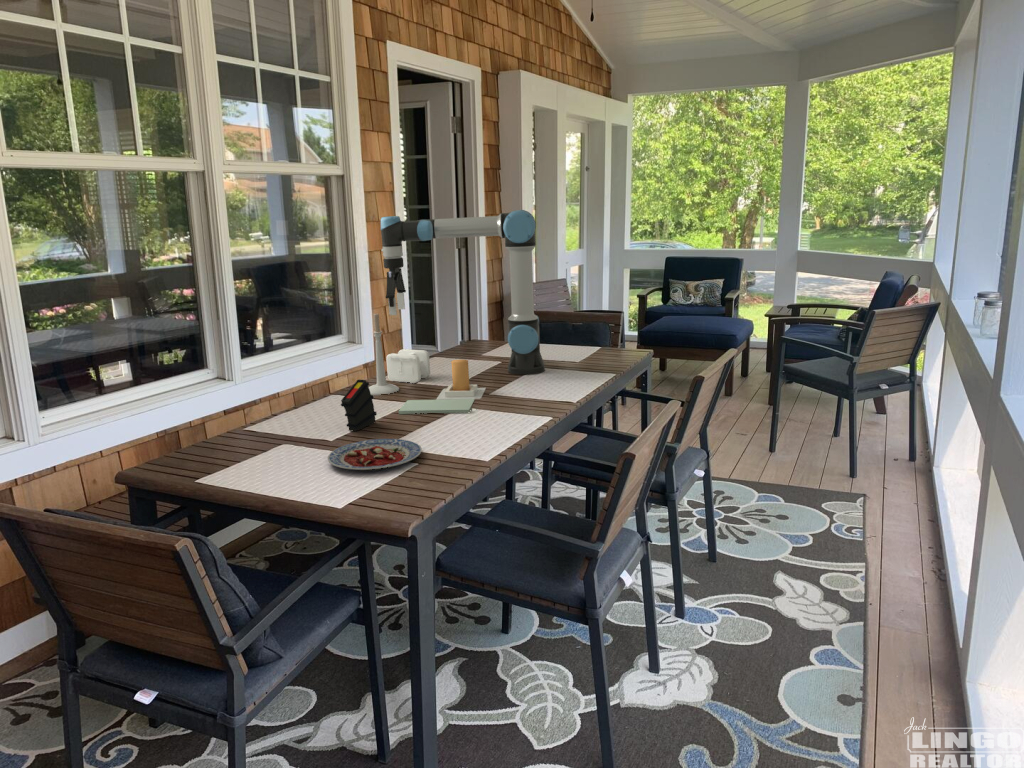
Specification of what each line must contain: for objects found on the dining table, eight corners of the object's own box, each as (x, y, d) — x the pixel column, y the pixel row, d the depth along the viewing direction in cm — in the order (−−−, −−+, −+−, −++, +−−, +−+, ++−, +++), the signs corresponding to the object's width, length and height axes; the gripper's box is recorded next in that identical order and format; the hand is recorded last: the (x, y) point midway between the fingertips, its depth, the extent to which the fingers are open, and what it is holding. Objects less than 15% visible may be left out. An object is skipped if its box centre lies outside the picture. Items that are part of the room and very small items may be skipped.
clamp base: (486, 390, 286) (485, 382, 285) (480, 401, 271) (480, 393, 270) (443, 391, 288) (443, 383, 287) (436, 402, 272) (435, 394, 271)
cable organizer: (432, 379, 309) (431, 350, 306) (418, 384, 300) (416, 355, 297) (402, 376, 316) (400, 348, 313) (386, 382, 306) (384, 353, 304)
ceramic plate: (338, 482, 197) (337, 472, 197) (320, 454, 220) (319, 445, 220) (434, 465, 207) (433, 455, 206) (407, 440, 230) (406, 431, 229)
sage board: (474, 402, 270) (474, 398, 270) (469, 413, 256) (469, 409, 256) (407, 403, 272) (407, 400, 272) (398, 414, 259) (398, 410, 258)
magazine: (382, 415, 252) (367, 379, 243) (362, 442, 243) (346, 406, 234) (372, 414, 254) (357, 378, 245) (352, 441, 245) (336, 405, 236)
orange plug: (470, 391, 282) (469, 359, 279) (468, 395, 276) (466, 362, 273) (454, 391, 282) (452, 359, 279) (452, 395, 276) (450, 363, 273)
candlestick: (372, 386, 299) (366, 310, 292) (403, 387, 297) (398, 310, 290) (359, 395, 287) (352, 315, 280) (392, 395, 284) (385, 315, 277)
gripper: (391, 254, 307) (395, 307, 313) (374, 261, 283) (379, 317, 289) (409, 254, 307) (413, 306, 312) (394, 260, 283) (399, 317, 288)
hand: (397, 312), depth 300 cm, fingers open, 13 cm apart
